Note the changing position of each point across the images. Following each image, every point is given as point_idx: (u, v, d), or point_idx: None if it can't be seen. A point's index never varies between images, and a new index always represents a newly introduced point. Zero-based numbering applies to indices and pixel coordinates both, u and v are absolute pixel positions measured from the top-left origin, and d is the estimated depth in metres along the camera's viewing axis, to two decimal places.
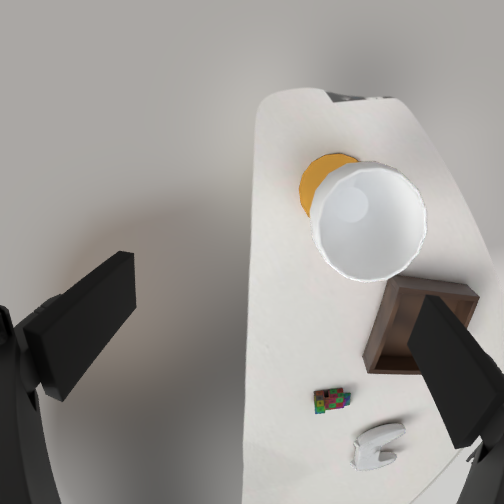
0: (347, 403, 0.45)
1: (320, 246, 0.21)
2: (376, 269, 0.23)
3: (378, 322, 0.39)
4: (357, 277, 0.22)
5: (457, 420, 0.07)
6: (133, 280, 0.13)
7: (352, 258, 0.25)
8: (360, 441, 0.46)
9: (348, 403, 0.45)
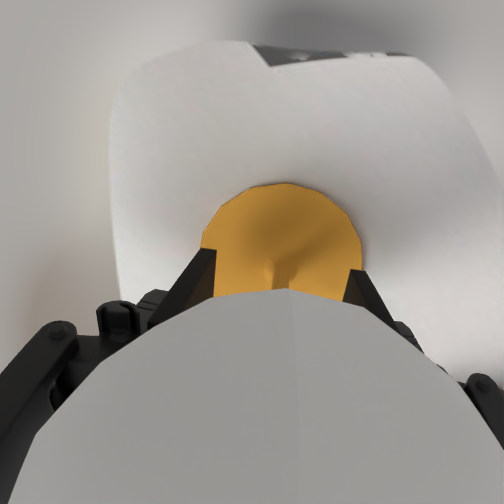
0: None
1: None
2: None
3: None
4: None
5: None
6: (214, 275, 0.15)
7: None
8: None
9: None
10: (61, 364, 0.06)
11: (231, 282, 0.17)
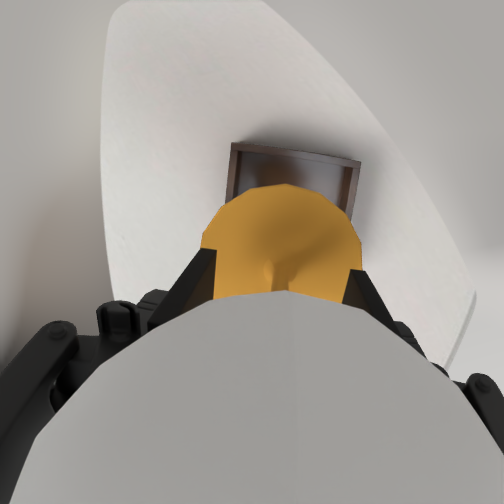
0: None
1: None
2: None
3: None
4: None
5: None
6: (214, 275, 0.15)
7: None
8: None
9: None
10: (61, 364, 0.06)
11: (230, 283, 0.17)
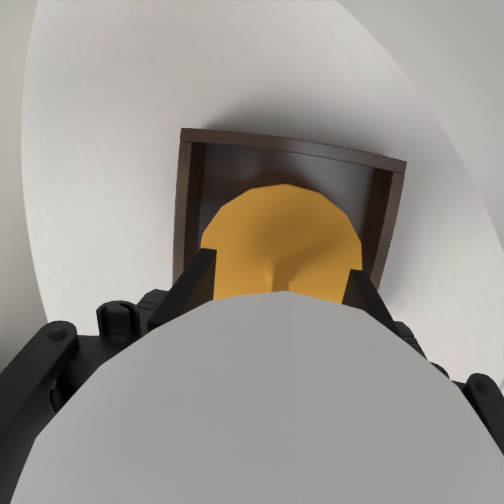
0: None
1: None
2: None
3: None
4: None
5: None
6: (214, 275, 0.15)
7: None
8: None
9: None
10: (61, 364, 0.06)
11: (230, 283, 0.17)
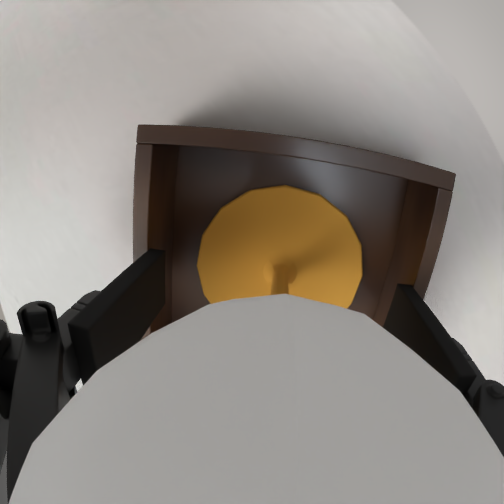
0: None
1: None
2: None
3: None
4: None
5: None
6: (164, 277, 0.14)
7: None
8: None
9: None
10: None
11: (230, 285, 0.17)
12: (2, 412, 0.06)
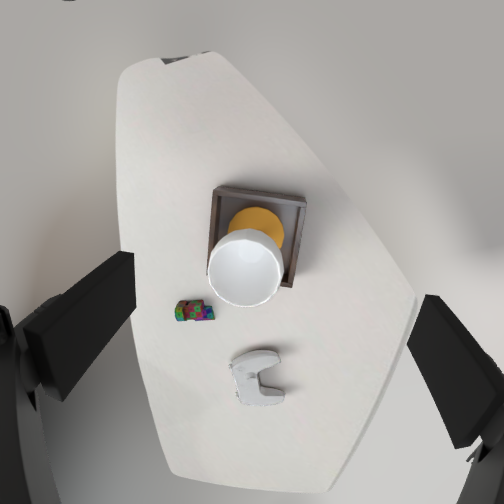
0: (209, 316, 0.55)
1: (211, 285, 0.36)
2: (256, 298, 0.38)
3: None
4: (237, 304, 0.36)
5: (457, 420, 0.07)
6: (134, 280, 0.13)
7: (245, 289, 0.40)
8: (232, 363, 0.56)
9: (211, 317, 0.56)
10: None
11: None
12: None
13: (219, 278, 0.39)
